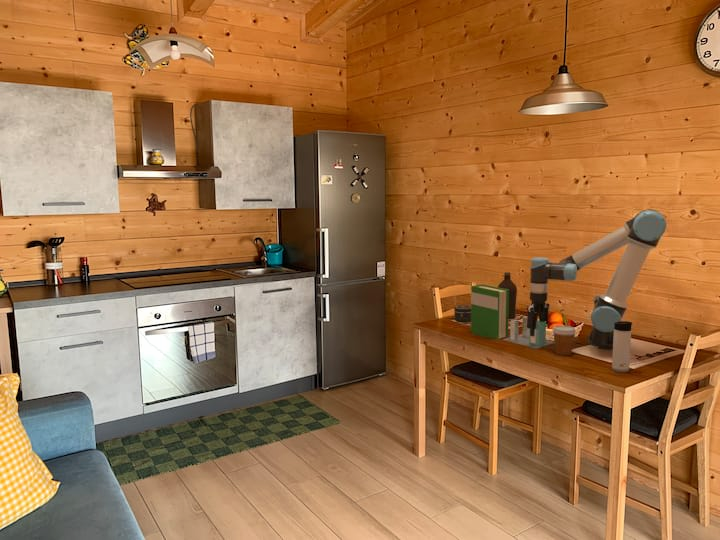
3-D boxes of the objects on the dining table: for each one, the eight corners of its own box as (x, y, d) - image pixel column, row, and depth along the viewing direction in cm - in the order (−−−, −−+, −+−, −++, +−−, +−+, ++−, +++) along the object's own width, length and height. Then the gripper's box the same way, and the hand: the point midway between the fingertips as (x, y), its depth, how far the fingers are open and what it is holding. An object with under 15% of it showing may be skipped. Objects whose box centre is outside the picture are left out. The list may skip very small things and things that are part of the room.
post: (520, 340, 264) (521, 320, 263) (514, 342, 262) (515, 322, 260) (513, 338, 268) (513, 318, 266) (507, 340, 265) (507, 320, 264)
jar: (453, 322, 304) (453, 308, 303) (455, 317, 313) (455, 304, 312) (471, 323, 301) (471, 309, 300) (473, 318, 310) (473, 305, 309)
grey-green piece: (545, 344, 257) (546, 322, 255) (538, 346, 254) (539, 323, 252) (535, 342, 261) (536, 319, 259) (528, 344, 258) (529, 321, 256)
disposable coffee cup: (564, 350, 250) (565, 324, 249) (579, 356, 242) (581, 329, 240) (547, 353, 247) (547, 326, 245) (562, 359, 238) (563, 331, 236)
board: (556, 343, 260) (556, 342, 260) (536, 350, 251) (536, 348, 251) (522, 335, 275) (522, 333, 275) (502, 341, 267) (502, 339, 266)
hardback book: (508, 338, 271) (509, 289, 267) (497, 341, 267) (498, 291, 263) (481, 330, 286) (482, 284, 282) (470, 333, 282) (471, 286, 278)
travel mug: (624, 373, 219) (627, 324, 216) (608, 369, 224) (611, 320, 221) (633, 370, 223) (635, 321, 220) (617, 366, 228) (619, 318, 225)
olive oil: (502, 319, 307) (503, 274, 303) (493, 315, 317) (494, 271, 313) (519, 318, 309) (521, 273, 305) (510, 313, 319) (511, 270, 316)
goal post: (532, 337, 269) (533, 317, 268) (527, 338, 267) (527, 319, 265) (525, 335, 273) (525, 315, 271) (519, 336, 270) (519, 317, 269)
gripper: (543, 288, 262) (542, 336, 265) (519, 293, 251) (517, 343, 255) (558, 290, 256) (556, 339, 259) (533, 295, 245) (531, 347, 249)
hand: (537, 341), depth 257 cm, fingers closed on grey-green piece, 5 cm apart
